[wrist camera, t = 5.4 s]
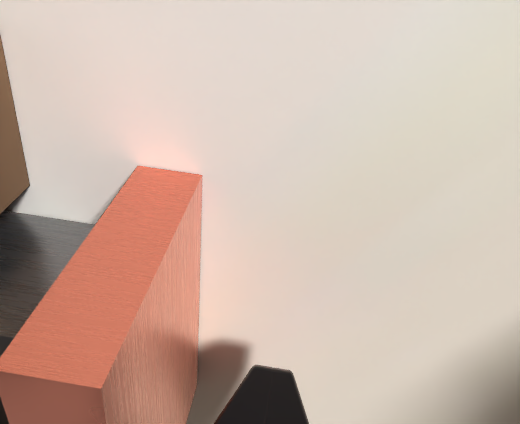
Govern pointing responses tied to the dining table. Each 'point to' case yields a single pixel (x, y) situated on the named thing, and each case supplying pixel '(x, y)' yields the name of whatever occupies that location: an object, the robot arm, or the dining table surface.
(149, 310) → the pin
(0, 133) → the block
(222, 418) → the robot arm
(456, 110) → the dining table surface
